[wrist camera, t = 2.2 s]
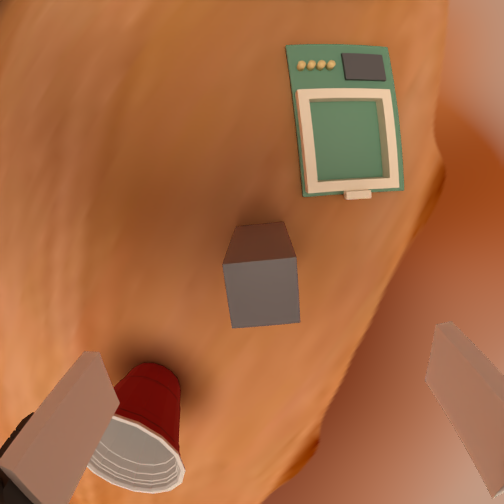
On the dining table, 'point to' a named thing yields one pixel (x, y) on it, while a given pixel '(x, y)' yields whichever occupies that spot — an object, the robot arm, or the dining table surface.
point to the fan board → (345, 120)
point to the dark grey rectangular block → (261, 276)
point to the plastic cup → (143, 433)
